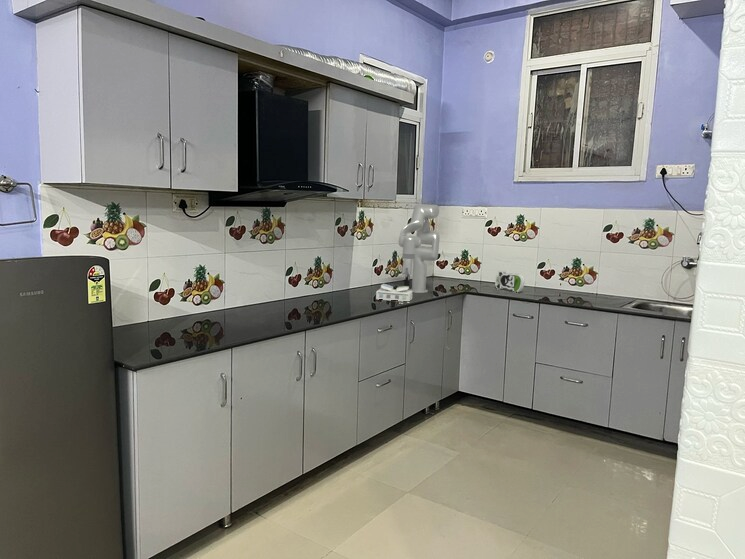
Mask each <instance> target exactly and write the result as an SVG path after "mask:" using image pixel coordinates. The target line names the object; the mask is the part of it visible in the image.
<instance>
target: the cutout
mask: <svg viewBox="0 0 745 559" xmlns="http://www.w3.org/2000/svg"><path fill="white" fill-rule="evenodd" d="M494 284H495V289H496V288H501V289H502V288H504V289H507V290H509V291H510V290H512V292H513V291H517V292H519V293H520V292H522V290H523V289H524V287H525V278H524V276H523V275H522V274H520V273H513V272H512V273H510V272H509V273H507V272H506V271H505V270H499V271H498V273H497V274H496V276H495V281H494Z"/></svg>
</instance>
